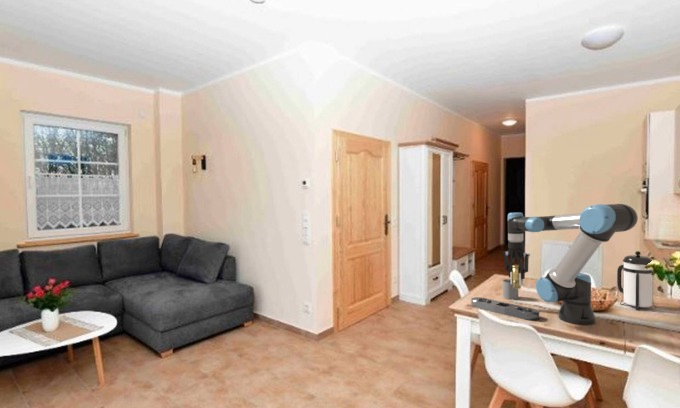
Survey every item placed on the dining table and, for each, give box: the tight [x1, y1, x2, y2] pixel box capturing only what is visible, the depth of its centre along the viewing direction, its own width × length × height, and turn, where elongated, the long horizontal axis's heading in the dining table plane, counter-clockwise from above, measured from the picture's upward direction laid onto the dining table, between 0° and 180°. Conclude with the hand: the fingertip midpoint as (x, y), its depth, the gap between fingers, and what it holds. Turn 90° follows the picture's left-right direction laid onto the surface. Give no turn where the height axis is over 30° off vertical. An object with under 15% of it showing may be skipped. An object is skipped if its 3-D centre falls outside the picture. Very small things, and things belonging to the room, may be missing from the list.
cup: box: [502, 278, 519, 301], centre depth 215 cm, size 8×8×10 cm
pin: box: [512, 264, 522, 290], centre depth 196 cm, size 5×5×12 cm
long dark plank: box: [470, 296, 540, 322], centre depth 191 cm, size 35×9×4 cm, turn 41°
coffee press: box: [616, 250, 657, 311], centre depth 195 cm, size 17×16×30 cm
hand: (516, 284), depth 196 cm, fingers closed on pin, 4 cm apart
